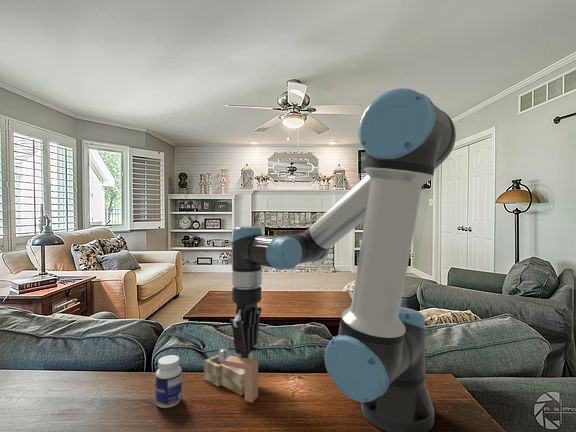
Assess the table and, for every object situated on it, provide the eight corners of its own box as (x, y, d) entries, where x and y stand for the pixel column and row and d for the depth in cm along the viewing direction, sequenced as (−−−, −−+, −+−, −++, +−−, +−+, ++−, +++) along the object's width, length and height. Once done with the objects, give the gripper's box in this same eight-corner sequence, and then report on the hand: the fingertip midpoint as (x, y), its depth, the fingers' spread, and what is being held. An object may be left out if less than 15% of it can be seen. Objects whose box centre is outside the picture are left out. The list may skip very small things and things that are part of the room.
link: (255, 387, 82) (255, 368, 82) (236, 397, 77) (236, 376, 77) (222, 371, 91) (222, 353, 91) (203, 378, 86) (204, 360, 86)
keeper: (258, 395, 78) (258, 360, 78) (252, 402, 75) (252, 365, 75) (230, 390, 81) (230, 355, 81) (224, 396, 78) (224, 360, 78)
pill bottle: (151, 402, 76) (151, 359, 76) (174, 392, 80) (174, 351, 80) (162, 412, 72) (162, 367, 72) (186, 401, 76) (186, 358, 76)
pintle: (229, 376, 87) (229, 349, 87) (224, 381, 85) (224, 352, 85) (221, 375, 88) (221, 347, 88) (217, 379, 86) (217, 351, 86)
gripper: (246, 280, 91) (245, 363, 91) (220, 290, 79) (220, 386, 79) (270, 282, 88) (270, 368, 89) (247, 293, 76) (247, 392, 76)
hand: (246, 376), depth 84 cm, fingers closed
